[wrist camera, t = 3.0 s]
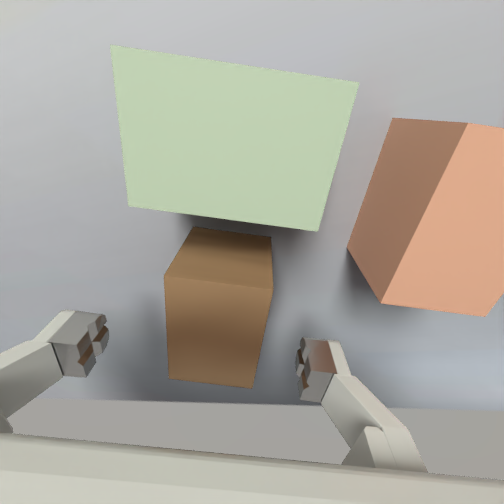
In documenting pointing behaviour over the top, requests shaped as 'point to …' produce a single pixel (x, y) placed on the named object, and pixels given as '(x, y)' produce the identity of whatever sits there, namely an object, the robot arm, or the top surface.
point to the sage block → (228, 137)
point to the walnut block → (218, 306)
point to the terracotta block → (435, 218)
